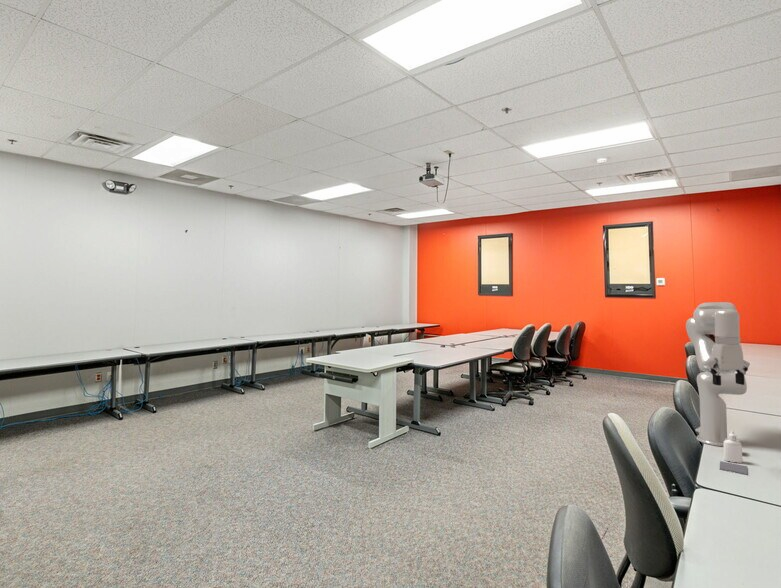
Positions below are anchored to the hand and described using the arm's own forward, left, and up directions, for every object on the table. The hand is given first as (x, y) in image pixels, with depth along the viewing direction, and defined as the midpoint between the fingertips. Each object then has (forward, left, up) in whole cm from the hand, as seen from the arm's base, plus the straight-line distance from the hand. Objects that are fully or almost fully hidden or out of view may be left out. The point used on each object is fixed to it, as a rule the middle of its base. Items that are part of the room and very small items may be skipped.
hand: (728, 384), depth 161 cm
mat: (+4, -3, -31) cm, 32 cm away
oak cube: (-11, +11, -31) cm, 35 cm away
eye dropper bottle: (-2, +3, -31) cm, 32 cm away
